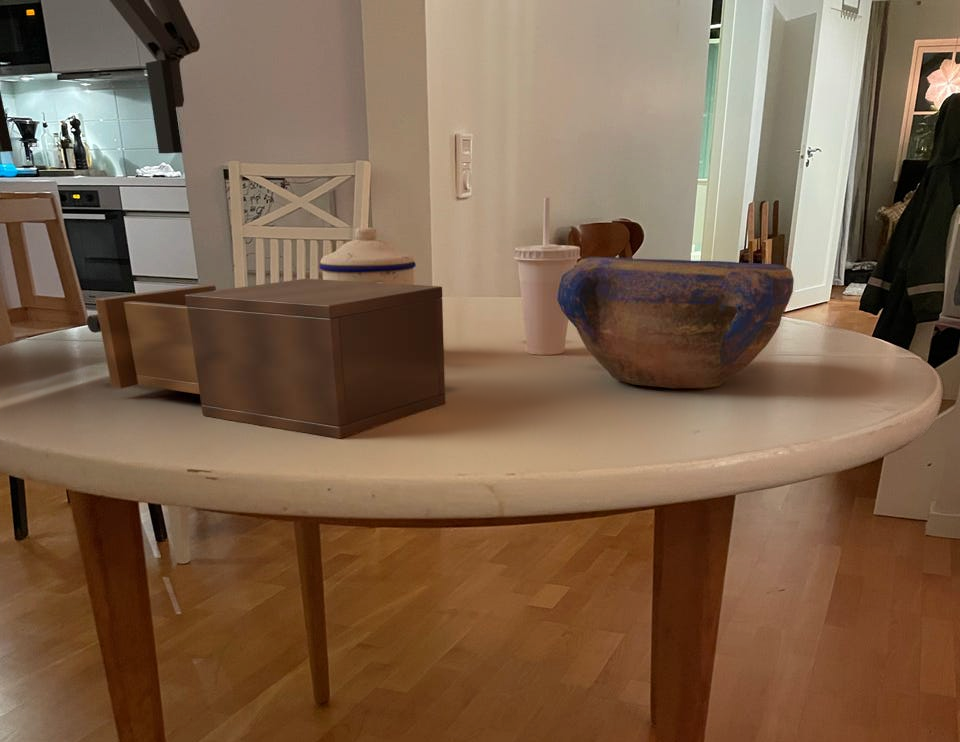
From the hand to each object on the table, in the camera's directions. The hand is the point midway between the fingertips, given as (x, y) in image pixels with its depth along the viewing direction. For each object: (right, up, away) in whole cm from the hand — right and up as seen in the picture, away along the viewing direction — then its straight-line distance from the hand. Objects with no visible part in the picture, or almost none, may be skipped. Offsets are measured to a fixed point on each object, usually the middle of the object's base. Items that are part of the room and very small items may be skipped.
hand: (90, 153), depth 73 cm
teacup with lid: (+21, -11, +17) cm, 29 cm away
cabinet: (+19, -21, -2) cm, 28 cm away
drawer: (+7, -17, +5) cm, 19 cm away
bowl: (+47, -16, +7) cm, 51 cm away
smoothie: (+37, -10, +20) cm, 43 cm away
